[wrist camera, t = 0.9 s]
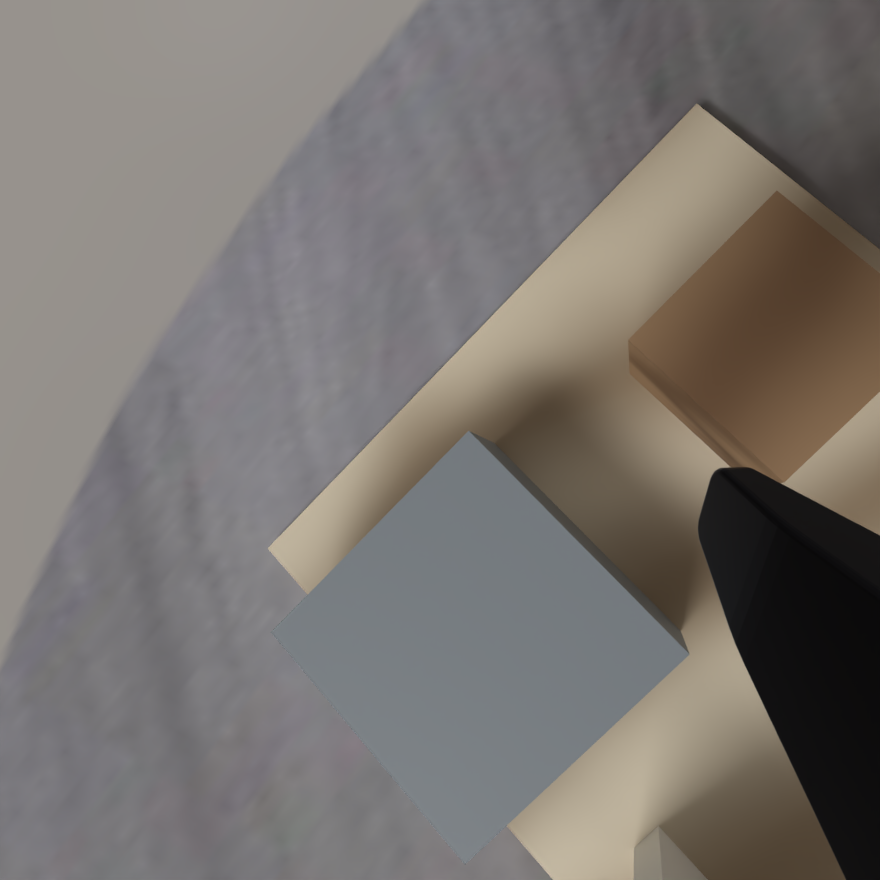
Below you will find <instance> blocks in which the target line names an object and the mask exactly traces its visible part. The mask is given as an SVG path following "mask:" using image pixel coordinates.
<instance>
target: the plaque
mask: <svg viewBox="0 0 880 880" xmlns="http://www.w3.org/2000/svg"><path fill="white" fill-rule="evenodd" d="M634 880H708V879H707V878H706V877H705V876H704V875H703V874H702V873H701V872H700V871H699V870H698V868H697V867H696V866H695V865H694V864H693V863H692V862H691V861H690V860H689V859H688V858H687V856H686V855H685V854H684V853H683V852H682V851H681V850H680V849H679V848H678V847H677V846H676V844H675V843H674V842H673V841H672V840H671V839H670V838H669V837H668V836H667V835H666V834H665V832H664V831H663V830H662V829H661V828H660V827H659V826H658V827H657V828H655V829H654V830H653V831H652V832H651V833H650V834H649V835H648V836H647V837H646V838H644V839H643V840H642V841H641V842H640V843H639V844H638V845H637V846H636V847H635V848H634Z"/></svg>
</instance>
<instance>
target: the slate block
mask: <svg viewBox="0 0 880 880" xmlns="http://www.w3.org/2000/svg"><path fill="white" fill-rule="evenodd" d="M271 633H272V634H273V635H274V637H275V638H276V639H277V640H278V641H279V643H280V644H281V645H282V646H283V647H284V649H285V650H286V651H287V652H288V653H289V655H290V656H291V657H292V658H293V659H294V661H295V662H296V663H297V664H298V665H299V667H300V668H301V669H302V670H303V671H304V673H305V674H306V675H307V676H308V677H309V679H310V680H311V681H312V682H313V683H314V685H315V686H316V687H317V688H318V689H319V691H320V692H321V693H322V694H323V695H324V697H325V698H326V699H327V700H328V701H329V702H330V704H331V705H332V706H333V707H334V708H335V710H336V711H337V712H338V713H339V714H340V716H341V717H342V718H343V719H344V720H345V722H346V723H347V724H348V725H349V726H350V728H351V729H352V730H353V731H354V732H355V734H356V735H357V736H358V737H359V738H360V740H361V741H362V742H363V743H364V744H365V746H366V747H367V748H368V749H369V750H370V752H371V753H372V754H373V755H374V756H375V758H376V759H377V760H378V761H379V762H380V764H381V765H382V766H383V767H384V768H385V770H386V771H387V772H388V773H389V774H390V776H391V777H392V778H393V779H394V780H395V782H396V783H397V784H398V785H399V786H400V788H401V789H402V790H403V791H404V792H405V794H406V795H407V796H408V797H409V798H410V800H411V801H412V802H413V803H414V804H415V806H416V807H417V808H418V809H419V810H420V812H421V813H422V814H423V815H424V816H425V818H426V819H427V820H428V821H429V822H430V823H431V825H432V826H433V827H434V828H435V829H436V831H437V832H438V833H439V834H440V835H441V837H442V838H443V839H444V840H445V841H446V843H447V844H448V845H449V846H450V847H451V849H452V850H453V851H454V852H455V853H456V855H457V856H458V857H459V858H460V859H461V861H462V862H463V863H464V864H466V863H467V862H468V861H469V860H470V859H472V858H473V857H474V856H475V855H476V854H477V853H478V852H479V851H480V850H481V849H482V848H483V847H484V846H485V845H487V844H488V843H489V842H490V841H491V840H492V839H493V838H494V837H495V836H496V835H497V834H498V833H499V832H500V831H501V830H503V829H504V828H505V827H506V826H507V825H508V824H509V823H510V822H511V821H512V820H513V819H514V818H515V817H516V816H518V815H519V814H520V813H521V812H522V811H523V810H524V809H525V808H526V807H527V806H528V805H529V804H530V803H531V802H532V801H534V800H535V799H536V798H537V797H538V796H539V795H540V794H541V793H542V792H543V791H544V790H545V789H546V788H547V787H549V786H550V785H551V784H552V783H553V782H554V781H555V780H556V779H557V778H558V777H559V776H560V775H561V774H562V773H563V772H565V771H566V770H567V769H568V768H569V767H570V766H571V765H572V764H573V763H574V762H575V761H576V760H577V759H578V758H580V757H581V756H582V755H583V754H584V753H585V752H586V751H587V750H588V749H589V748H590V747H591V746H592V745H593V744H594V743H596V742H597V741H598V740H599V739H600V738H601V737H602V736H603V735H604V734H605V733H606V732H607V731H608V730H609V729H611V728H612V727H613V726H614V725H615V724H616V723H617V722H618V721H619V720H620V719H621V718H622V717H623V716H624V715H625V714H627V713H628V712H629V711H630V710H631V709H632V708H633V707H634V706H635V705H636V704H637V703H638V702H639V701H640V700H642V699H643V698H644V697H645V696H646V695H647V694H648V693H649V692H650V691H651V690H652V689H653V688H654V687H655V686H656V685H658V684H659V683H660V682H661V681H662V680H663V679H664V678H665V677H666V676H667V675H668V674H669V673H670V672H671V671H673V670H674V669H675V668H676V667H677V666H678V665H679V664H680V663H681V662H682V661H683V660H684V659H685V658H686V657H687V656H689V655H690V654H689V651H688V649H687V646H686V643H685V641H684V638H683V635H682V633H681V631H680V630H679V629H678V628H677V627H676V626H675V625H674V624H673V623H672V622H671V621H670V620H669V619H668V617H667V616H666V615H665V614H664V613H663V612H662V611H661V610H660V609H659V608H658V607H657V606H656V605H655V604H654V603H653V602H652V601H651V600H650V599H649V598H648V597H647V596H646V595H645V594H644V593H643V592H642V591H641V590H640V589H639V588H638V587H637V586H636V585H635V584H634V583H633V582H632V581H631V580H630V579H629V578H628V577H627V576H626V575H625V574H624V573H623V572H622V571H621V570H620V569H619V568H618V567H617V566H616V565H615V564H614V563H613V562H612V561H611V560H610V559H609V558H608V557H607V556H606V555H605V554H604V553H603V552H602V551H601V550H600V549H599V548H598V547H597V546H596V545H595V544H594V543H593V542H592V541H591V540H590V539H589V538H588V537H587V536H586V535H585V534H584V533H583V532H582V531H581V530H580V529H579V528H578V527H577V526H576V525H575V524H574V523H573V522H572V521H571V520H570V519H569V518H568V517H567V516H566V515H565V514H564V513H563V512H562V511H561V510H560V509H559V508H558V507H557V506H556V505H555V504H554V503H553V502H552V501H551V500H550V499H549V498H548V497H547V496H546V495H545V494H544V493H543V492H542V491H541V490H540V489H539V488H538V487H537V486H536V485H535V484H534V483H533V482H532V481H531V480H530V479H529V478H528V477H527V476H526V475H525V474H524V473H523V472H522V471H521V470H520V469H519V468H518V467H517V465H516V464H515V463H514V462H513V461H512V460H511V459H510V458H509V457H508V456H507V455H506V454H505V453H504V452H503V451H502V450H501V449H500V448H499V447H498V446H497V445H496V444H495V443H493V442H491V441H489V440H487V439H485V438H483V437H481V436H479V435H477V434H475V433H473V432H470V431H468V432H467V433H466V434H465V435H464V436H463V437H462V438H461V439H460V440H459V441H458V442H457V443H456V444H455V445H454V446H453V447H452V448H451V449H450V450H449V451H448V452H447V453H446V454H445V455H444V456H443V457H442V458H441V459H440V460H439V461H438V462H437V463H436V464H435V465H434V466H433V467H432V469H431V470H430V471H429V472H428V473H427V474H426V475H425V476H424V477H423V478H422V479H421V480H420V481H419V482H418V483H417V484H416V485H415V486H414V487H413V488H412V489H411V490H410V491H409V492H408V493H407V494H406V495H405V496H404V497H403V498H402V499H401V500H400V501H399V502H398V503H397V504H396V505H395V506H394V507H393V508H392V509H391V510H390V511H389V512H388V513H387V514H386V515H385V516H384V517H383V518H382V519H381V520H380V522H379V523H378V524H377V525H376V526H375V527H374V528H373V529H372V530H371V531H370V532H369V533H368V534H367V535H366V536H365V537H364V538H363V539H362V540H361V541H360V542H359V543H358V544H357V545H356V546H355V547H354V548H353V549H352V550H351V551H350V552H349V553H348V554H347V555H346V556H345V557H344V558H343V559H342V560H341V561H340V562H339V563H338V564H337V565H336V566H335V567H334V568H333V569H332V570H331V571H330V572H329V573H328V575H327V576H326V577H325V578H324V579H323V580H322V581H321V582H320V583H319V584H318V585H317V586H316V587H315V588H314V589H313V590H312V591H311V592H310V593H309V594H308V595H307V596H306V597H305V598H304V599H303V600H302V601H301V602H300V603H299V604H298V605H297V606H296V607H295V608H294V609H293V610H292V611H291V612H290V613H289V614H288V615H287V616H286V617H285V618H284V619H283V620H282V621H281V622H280V623H279V624H278V625H277V627H276V628H275V629H274V630H273V631H272V632H271Z"/></svg>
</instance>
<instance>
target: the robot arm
mask: <svg viewBox="0 0 880 880" xmlns="http://www.w3.org/2000/svg"><path fill="white" fill-rule="evenodd" d="M698 536H699V540H700V544H701V547H702V550H703V553H704V555H705V558H706V561H707V564H708V567H709V570H710V573H711V576H712V579H713V582H714V585H715V588H716V591H717V594H718V597H719V600H720V603H721V605H722V608H723V611H724V614H725V617H726V620H727V623H728V626H729V629H730V631H731V634H732V637H733V639H734V642H735V645H736V647H737V649H738V651H739V654H740V656H741V658H742V661H743V663H744V665H745V667H746V669H747V671H748V673H749V675H750V678H751V680H752V682H753V684H754V686H755V688H756V690H757V692H758V695H759V697H760V699H761V701H762V703H763V705H764V707H765V709H766V712H767V714H768V716H769V718H770V720H771V722H772V724H773V726H774V728H775V731H776V733H777V735H778V737H779V739H780V741H781V743H782V745H783V748H784V750H785V752H786V754H787V756H788V758H789V760H790V762H791V765H792V767H793V769H794V771H795V773H796V775H797V777H798V779H799V781H800V784H801V786H802V788H803V790H804V792H805V794H806V796H807V798H808V801H809V803H810V805H811V807H812V809H813V811H814V813H815V815H816V818H817V820H818V822H819V824H820V826H821V828H822V830H823V832H824V835H825V837H826V839H827V841H828V843H829V845H830V847H831V849H832V851H833V854H834V856H835V858H836V860H837V862H838V864H839V866H840V868H841V871H842V873H843V875H844V877H845V879H846V880H880V535H878V534H876V533H874V532H873V531H871V530H869V529H867V528H865V527H863V526H861V525H859V524H857V523H855V522H853V521H852V520H850V519H848V518H846V517H844V516H842V515H840V514H838V513H836V512H834V511H833V510H831V509H829V508H827V507H825V506H823V505H821V504H819V503H817V502H815V501H814V500H812V499H810V498H808V497H806V496H804V495H802V494H800V493H798V492H796V491H794V490H793V489H791V488H789V487H787V486H785V485H783V484H781V483H779V482H777V481H775V480H774V479H772V478H770V477H768V476H766V475H764V474H762V473H760V472H758V471H756V470H754V469H752V468H749V467H727V468H719V469H717V470H716V471H714V473H713V474H712V476H711V478H710V481H709V485H708V488H707V492H706V495H705V499H704V502H703V506H702V509H701V513H700V516H699V521H698Z"/></svg>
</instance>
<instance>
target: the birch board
mask: <svg viewBox="0 0 880 880" xmlns="http://www.w3.org/2000/svg"><path fill="white" fill-rule="evenodd" d="M776 191H778V192H780V193H781V194H782V195H783V196H784V197H786V198H787V199H788V200H789V201H791V202H792V203H793V204H794V205H796V206H797V207H798V208H799V209H801V210H802V211H803V212H804V213H806V214H807V215H808V216H809V217H811V218H812V219H813V220H814V221H816V222H817V223H818V224H819V225H821V226H822V227H823V228H824V229H825V230H827V231H828V232H829V233H830V234H832V235H833V236H834V237H835V238H837V239H838V240H839V241H840V242H842V243H843V244H844V245H845V246H847V247H848V248H849V249H850V250H852V251H853V252H854V253H855V254H857V255H858V256H859V257H860V258H861V259H863V260H864V261H865V262H866V263H868V264H869V265H870V266H871V267H873V268H874V269H875V270H876V271H878V272H879V273H880V249H879V248H877V247H876V246H875V245H874V244H872V243H871V242H870V241H869V240H867V239H866V238H865V237H864V236H862V235H861V234H860V233H859V232H857V231H856V230H855V229H854V228H852V227H851V226H850V225H849V224H847V223H846V222H845V221H843V220H842V219H841V218H840V217H838V216H837V215H836V214H835V213H833V212H832V211H831V210H830V209H828V208H827V207H826V206H825V205H823V204H822V203H821V202H820V201H818V200H817V199H816V198H815V197H813V196H812V195H811V194H810V193H808V192H807V191H806V190H805V189H803V188H802V187H801V186H800V185H798V184H797V183H796V182H795V181H793V180H792V179H791V178H790V177H788V176H787V175H786V174H785V173H783V172H782V171H781V170H779V169H778V168H777V167H776V166H774V165H773V164H772V163H771V162H769V161H768V160H767V159H766V158H764V157H763V156H762V155H761V154H759V153H758V152H757V151H756V150H754V149H753V148H752V147H751V146H749V145H748V144H747V143H746V142H744V141H743V140H742V139H741V138H739V137H738V136H737V135H736V134H734V133H733V132H732V131H731V130H729V129H728V128H727V127H726V126H724V125H723V124H722V123H721V122H719V121H718V120H717V119H715V118H714V117H713V116H712V115H710V114H709V113H708V112H707V111H705V110H704V109H703V108H702V107H700V106H699V105H698V104H696V105H695V106H694V107H693V108H692V109H691V110H690V111H689V112H688V113H687V114H686V115H685V116H684V117H683V118H682V119H681V120H680V121H679V122H678V124H677V125H676V126H675V127H674V128H673V129H672V130H671V131H670V132H669V133H668V134H667V135H666V136H665V137H664V138H663V139H662V140H661V141H660V142H659V143H658V144H657V145H656V146H655V147H654V148H653V149H652V150H651V152H650V153H649V154H648V155H647V156H646V157H645V158H644V159H643V160H642V161H641V162H640V163H639V164H638V165H637V166H636V167H635V168H634V169H633V170H632V171H631V172H630V173H629V174H628V175H627V176H626V177H625V178H624V180H623V181H622V182H621V183H620V184H619V185H618V186H617V187H616V188H615V189H614V190H613V191H612V192H611V193H610V194H609V195H608V196H607V197H606V198H605V199H604V200H603V201H602V202H601V203H600V204H599V205H598V206H597V208H596V209H595V210H594V211H593V212H592V213H591V214H590V215H589V216H588V217H587V218H586V219H585V220H584V221H583V222H582V223H581V224H580V225H579V226H578V227H577V228H576V229H575V230H574V231H573V232H572V233H571V234H570V235H569V237H568V238H567V239H566V240H565V241H564V242H563V243H562V244H561V245H560V246H559V247H558V248H557V249H556V250H555V251H554V252H553V253H552V254H551V255H550V256H549V257H548V258H547V259H546V260H545V261H544V262H543V263H542V265H541V266H540V267H539V268H538V269H537V270H536V271H535V272H534V273H533V274H532V275H531V276H530V277H529V278H528V279H527V280H526V281H525V282H524V283H523V284H522V285H521V286H520V287H519V288H518V289H517V290H516V291H515V293H514V294H513V295H512V296H511V297H510V298H509V299H508V300H507V301H506V302H505V303H504V304H503V305H502V306H501V307H500V308H499V309H498V310H497V311H496V312H495V313H494V314H493V315H492V316H491V317H490V318H489V319H488V321H487V322H486V323H485V324H484V325H483V326H482V327H481V328H480V329H479V330H478V331H477V332H476V333H475V334H474V335H473V336H472V337H471V338H470V339H469V340H468V341H467V342H466V343H465V344H464V345H463V346H462V347H461V349H460V350H459V351H458V352H457V353H456V354H455V355H454V356H453V357H452V358H451V359H450V360H449V361H448V362H447V363H446V364H445V365H444V366H443V367H442V368H441V369H440V370H439V371H438V372H437V373H436V374H435V375H434V377H433V378H432V379H431V380H430V381H429V382H428V383H427V384H426V385H425V386H424V387H423V388H422V389H421V390H420V391H419V392H418V393H417V394H416V395H415V396H414V397H413V398H412V399H411V400H410V401H409V402H408V403H407V405H406V406H405V407H404V408H403V409H402V410H401V411H400V412H399V413H398V414H397V415H396V416H395V417H394V418H393V419H392V420H391V421H390V422H389V423H388V424H387V425H386V426H385V427H384V428H383V429H382V430H381V431H380V433H379V434H378V435H377V436H376V437H375V438H374V439H373V440H372V441H371V442H370V443H369V444H368V445H367V446H366V447H365V448H364V449H363V450H362V451H361V452H360V453H359V454H358V455H357V456H356V457H355V458H354V459H353V461H352V462H351V463H350V464H349V465H348V466H347V467H346V468H345V469H344V470H343V471H342V472H341V473H340V474H339V475H338V476H337V477H336V478H335V479H334V480H333V481H332V482H331V483H330V484H329V485H328V486H327V487H326V489H325V490H324V491H323V492H322V493H321V494H320V495H319V496H318V497H317V498H316V499H315V500H314V501H313V502H312V503H311V504H310V505H309V506H308V507H307V508H306V509H305V510H304V511H303V512H302V513H301V514H300V515H299V517H298V518H297V519H296V520H295V521H294V522H293V523H292V524H291V525H290V526H289V527H288V528H287V529H286V530H285V531H284V532H283V533H282V534H281V535H280V536H279V537H278V538H277V539H276V540H275V541H274V542H273V543H272V544H271V546H270V547H269V548H268V549H269V550H270V552H271V553H272V554H273V555H274V556H275V557H276V559H277V560H278V561H279V562H280V563H281V564H282V566H283V567H284V568H285V569H286V570H287V571H288V572H289V574H290V575H291V576H292V577H293V578H294V579H295V581H296V582H297V583H298V584H299V585H300V586H301V588H302V589H303V590H304V591H305V592H306V593H307V595H308V594H309V593H310V592H311V591H312V590H313V589H314V588H315V587H316V586H317V585H318V584H319V583H320V582H321V581H322V580H323V579H324V578H325V577H326V576H327V575H328V573H329V572H330V571H331V570H332V569H333V568H334V567H335V566H336V565H337V564H338V563H339V562H340V561H341V560H342V559H343V558H344V557H345V556H346V555H347V554H348V553H349V552H350V551H351V550H352V549H353V548H354V547H355V546H356V545H357V544H358V543H359V542H360V541H361V540H362V539H363V538H364V537H365V536H366V535H367V534H368V533H369V532H370V531H371V530H372V529H373V528H374V527H375V526H376V525H377V524H378V523H379V522H380V520H381V519H382V518H383V517H384V516H385V515H386V514H387V513H388V512H389V511H390V510H391V509H392V508H393V507H394V506H395V505H396V504H397V503H398V502H399V501H400V500H401V499H402V498H403V497H404V496H405V495H406V494H407V493H408V492H409V491H410V490H411V489H412V488H413V487H414V486H415V485H416V484H417V483H418V482H419V481H420V480H421V479H422V478H423V477H424V476H425V475H426V474H427V473H428V472H429V471H430V470H431V469H432V467H433V466H434V465H435V464H436V463H437V462H438V461H439V460H440V459H441V458H442V457H443V456H444V455H445V454H446V453H447V452H448V451H449V450H450V449H451V448H452V447H453V446H454V445H455V444H456V443H457V442H458V441H459V440H460V439H461V438H462V437H463V436H464V435H465V434H466V433H467V432H468V431H470V432H473V433H475V434H477V435H479V436H481V437H483V438H485V439H487V440H489V441H491V442H493V443H495V444H496V445H497V446H498V447H499V448H500V449H501V450H502V451H503V452H504V453H505V454H506V455H507V456H508V457H509V458H510V459H511V460H512V461H513V462H514V463H515V464H516V465H517V467H518V468H519V469H520V470H521V471H522V472H523V473H524V474H525V475H526V476H527V477H528V478H529V479H530V480H531V481H532V482H533V483H534V484H535V485H536V486H537V487H538V488H539V489H540V490H541V491H542V492H543V493H544V494H545V495H546V496H547V497H548V498H549V499H550V500H551V501H552V502H553V503H554V504H555V505H556V506H557V507H558V508H559V509H560V510H561V511H562V512H563V513H564V514H565V515H566V516H567V517H568V518H569V519H570V520H571V521H572V522H573V523H574V524H575V525H576V526H577V527H578V528H579V529H580V530H581V531H582V532H583V533H584V534H585V535H586V536H587V537H588V538H589V539H590V540H591V541H592V542H593V543H594V544H595V545H596V546H597V547H598V548H599V549H600V550H601V551H602V552H603V553H604V554H605V555H606V556H607V557H608V558H609V559H610V560H611V561H612V562H613V563H614V564H615V565H616V566H617V567H618V568H619V569H620V570H621V571H622V572H623V573H624V574H625V575H626V576H627V577H628V578H629V579H630V580H631V581H632V582H633V583H634V584H635V585H636V586H637V587H638V588H639V589H640V590H641V591H642V592H643V593H644V594H645V595H646V596H647V597H648V598H649V599H650V600H651V601H652V602H653V603H654V604H655V605H656V606H657V607H658V608H659V609H660V610H661V611H662V612H663V613H664V614H665V615H666V616H667V617H668V619H669V620H670V621H671V622H672V623H673V624H674V625H675V626H676V627H677V628H678V629H679V630H680V631H681V633H682V635H683V638H684V641H685V643H686V646H687V649H688V651H689V654H690V655H689V656H687V657H686V658H685V659H684V660H683V661H682V662H681V663H680V664H679V665H678V666H677V667H676V668H675V669H674V670H673V671H671V672H670V673H669V674H668V675H667V676H666V677H665V678H664V679H663V680H662V681H661V682H660V683H659V684H658V685H656V686H655V687H654V688H653V689H652V690H651V691H650V692H649V693H648V694H647V695H646V696H645V697H644V698H643V699H642V700H640V701H639V702H638V703H637V704H636V705H635V706H634V707H633V708H632V709H631V710H630V711H629V712H628V713H627V714H625V715H624V716H623V717H622V718H621V719H620V720H619V721H618V722H617V723H616V724H615V725H614V726H613V727H612V728H611V729H609V730H608V731H607V732H606V733H605V734H604V735H603V736H602V737H601V738H600V739H599V740H598V741H597V742H596V743H594V744H593V745H592V746H591V747H590V748H589V749H588V750H587V751H586V752H585V753H584V754H583V755H582V756H581V757H580V758H578V759H577V760H576V761H575V762H574V763H573V764H572V765H571V766H570V767H569V768H568V769H567V770H566V771H565V772H563V773H562V774H561V775H560V776H559V777H558V778H557V779H556V780H555V781H554V782H553V783H552V784H551V785H550V786H549V787H547V788H546V789H545V790H544V791H543V792H542V793H541V794H540V795H539V796H538V797H537V798H536V799H535V800H534V801H532V802H531V803H530V804H529V805H528V806H527V807H526V808H525V809H524V810H523V811H522V812H521V813H520V814H519V815H518V816H516V817H515V818H514V819H513V820H512V821H511V822H510V823H509V824H508V825H507V827H508V828H509V829H510V830H511V831H512V833H513V834H514V835H515V836H516V837H517V838H518V839H519V841H520V842H521V843H522V844H523V845H524V846H525V848H526V849H527V850H528V851H529V852H530V853H531V855H532V856H533V857H534V858H535V859H536V860H537V862H538V863H539V864H540V865H541V866H542V867H543V869H544V870H545V871H546V872H547V873H548V874H549V875H550V877H551V878H552V879H553V880H634V848H635V847H636V846H637V845H638V844H639V843H640V842H641V841H642V840H643V839H644V838H646V837H647V836H648V835H649V834H650V833H651V832H652V831H653V830H654V829H655V828H657V827H658V826H659V827H660V828H661V829H662V830H663V831H664V832H665V834H666V835H667V836H668V837H669V838H670V839H671V840H672V841H673V842H674V843H675V844H676V846H677V847H678V848H679V849H680V850H681V851H682V852H683V853H684V854H685V855H686V856H687V858H688V859H689V860H690V861H691V862H692V863H693V864H694V865H695V866H696V867H697V868H698V870H699V871H700V872H701V873H702V874H703V875H704V876H705V877H706V878H707V879H708V880H846V879H845V877H844V875H843V873H842V871H841V868H840V866H839V864H838V862H837V860H836V858H835V856H834V854H833V851H832V849H831V847H830V845H829V843H828V841H827V839H826V837H825V835H824V832H823V830H822V828H821V826H820V824H819V822H818V820H817V818H816V815H815V813H814V811H813V809H812V807H811V805H810V803H809V801H808V798H807V796H806V794H805V792H804V790H803V788H802V786H801V784H800V781H799V779H798V777H797V775H796V773H795V771H794V769H793V767H792V765H791V762H790V760H789V758H788V756H787V754H786V752H785V750H784V748H783V745H782V743H781V741H780V739H779V737H778V735H777V733H776V731H775V728H774V726H773V724H772V722H771V720H770V718H769V716H768V714H767V712H766V709H765V707H764V705H763V703H762V701H761V699H760V697H759V695H758V692H757V690H756V688H755V686H754V684H753V682H752V680H751V678H750V675H749V673H748V671H747V669H746V667H745V665H744V663H743V661H742V658H741V656H740V654H739V651H738V649H737V647H736V645H735V642H734V639H733V637H732V634H731V631H730V629H729V626H728V623H727V620H726V617H725V614H724V611H723V608H722V605H721V603H720V600H719V597H718V594H717V591H716V588H715V585H714V582H713V579H712V576H711V573H710V570H709V567H708V564H707V561H706V558H705V555H704V553H703V550H702V547H701V544H700V540H699V536H698V521H699V516H700V513H701V509H702V506H703V502H704V499H705V495H706V492H707V488H708V485H709V481H710V478H711V476H712V474H713V473H714V471H716V470H717V469H719V468H727V467H730V466H729V465H728V464H727V463H726V462H725V461H723V460H722V459H721V458H720V457H719V456H718V455H717V454H716V453H715V452H714V451H713V450H712V449H710V448H709V447H708V446H707V445H706V444H705V443H704V442H703V441H702V440H701V439H700V438H699V437H698V436H696V435H695V434H694V433H693V432H692V431H691V430H690V429H689V428H688V427H687V426H686V425H685V424H683V423H682V422H681V421H680V420H679V419H678V418H677V417H676V416H675V415H674V414H673V413H672V412H670V411H669V410H668V409H667V408H666V407H665V406H664V405H663V404H662V403H661V402H660V401H659V400H658V399H656V398H655V397H654V396H653V395H652V394H651V393H650V392H649V391H648V390H647V389H646V388H645V387H643V386H642V385H641V384H640V383H639V382H638V381H637V380H636V379H635V378H634V377H633V376H632V375H630V373H629V349H628V339H629V338H630V337H631V336H632V335H633V334H634V333H635V332H636V331H637V330H638V329H639V328H640V327H641V326H642V325H643V324H644V323H645V322H646V321H647V320H648V319H649V318H650V317H651V316H652V315H653V314H654V313H655V312H656V311H657V310H658V309H659V308H660V307H661V306H662V305H663V304H664V303H665V302H666V301H667V300H668V299H669V298H670V297H671V296H672V295H673V294H674V293H675V292H676V291H677V290H678V289H679V288H680V287H681V286H682V285H683V284H684V283H685V282H686V281H687V280H688V279H689V278H690V277H691V276H692V275H693V274H694V273H695V272H696V271H697V270H698V269H699V268H700V267H701V266H702V265H703V264H704V263H705V262H706V261H707V260H708V259H709V258H710V257H711V256H712V255H713V254H714V253H715V252H716V251H717V250H718V249H719V248H720V247H721V246H722V245H723V244H724V243H725V242H726V241H727V240H728V239H729V238H730V237H731V236H732V235H733V234H734V233H735V232H736V231H737V230H738V229H739V228H740V227H741V226H742V225H743V224H744V223H745V222H746V221H747V220H748V219H749V218H750V217H751V216H752V215H753V214H754V213H755V212H756V211H757V210H758V209H759V208H760V207H761V206H762V205H763V204H764V203H765V202H766V201H767V200H768V199H769V198H770V197H771V196H772V195H773V194H774V193H775V192H776ZM781 484H783V485H785V486H787V487H789V488H791V489H793V490H794V491H796V492H798V493H800V494H802V495H804V496H806V497H808V498H810V499H812V500H814V501H815V502H817V503H819V504H821V505H823V506H825V507H827V508H829V509H831V510H833V511H834V512H836V513H838V514H840V515H842V516H844V517H846V518H848V519H850V520H852V521H853V522H855V523H857V524H859V525H861V526H863V527H865V528H867V529H869V530H871V531H873V532H874V533H876V534H878V535H880V392H879V393H878V394H877V395H876V396H875V397H874V398H873V399H872V400H871V401H869V402H868V403H867V404H866V405H865V406H864V407H863V408H862V409H861V410H860V411H859V412H858V413H857V414H856V415H855V416H854V417H853V418H852V419H851V420H850V421H848V422H847V423H846V424H845V425H844V426H843V427H842V428H841V429H840V430H839V431H838V432H837V433H836V434H835V435H834V436H833V437H832V438H831V439H830V440H828V441H827V442H826V443H825V444H824V445H823V446H822V447H821V448H820V449H819V450H818V451H817V452H816V453H815V454H814V455H813V456H812V457H811V458H810V459H808V460H807V461H806V462H805V463H804V464H803V465H802V466H801V467H800V468H799V469H798V470H797V471H796V472H795V473H794V474H793V475H792V476H791V477H790V478H789V479H787V480H786V481H785V482H784V483H781Z"/></svg>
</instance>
